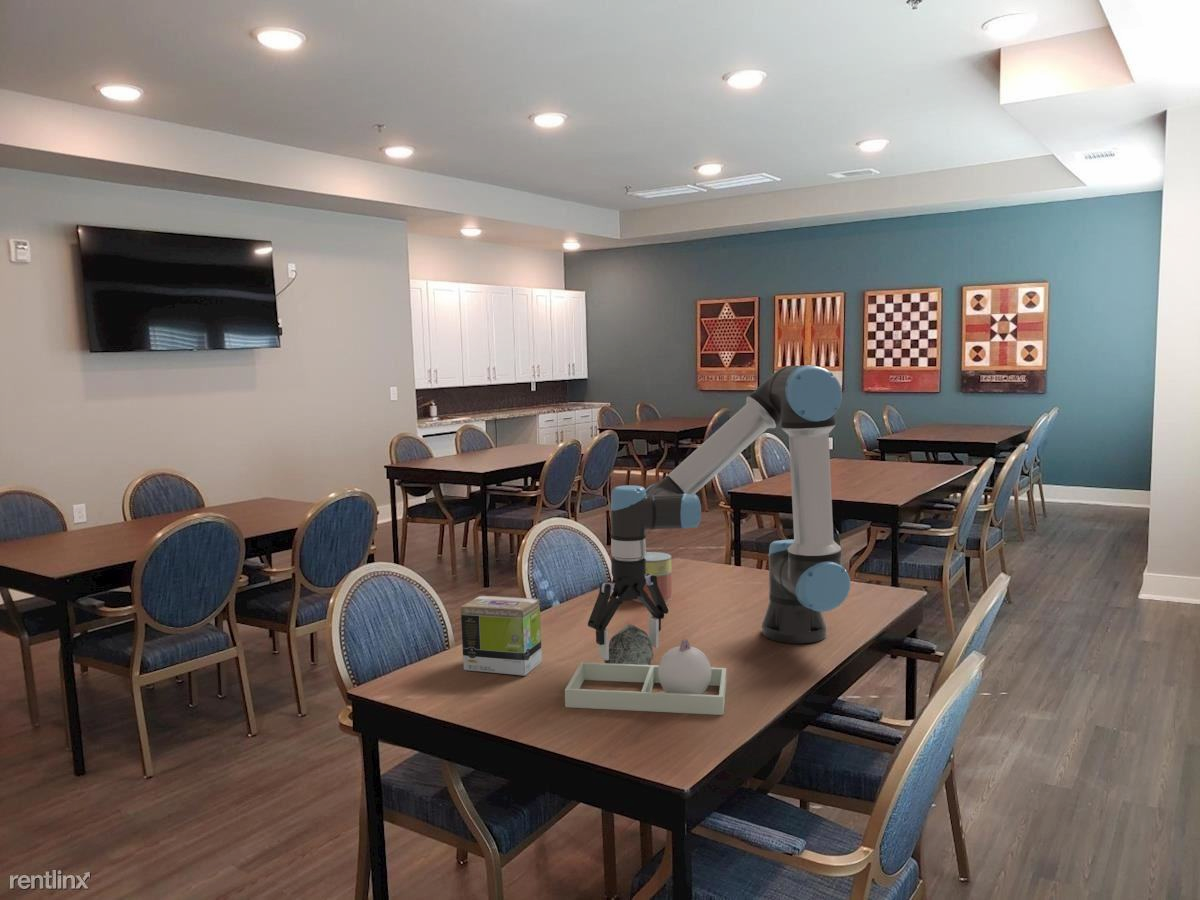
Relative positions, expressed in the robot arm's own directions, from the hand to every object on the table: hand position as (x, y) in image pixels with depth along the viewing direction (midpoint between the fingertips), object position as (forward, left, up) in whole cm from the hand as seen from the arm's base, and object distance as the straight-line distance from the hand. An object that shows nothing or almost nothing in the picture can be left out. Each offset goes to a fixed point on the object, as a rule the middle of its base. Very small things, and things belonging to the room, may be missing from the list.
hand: (629, 652), depth 193 cm
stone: (0, 0, -3) cm, 3 cm away
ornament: (-14, +17, -3) cm, 22 cm away
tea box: (+28, +4, -3) cm, 28 cm away
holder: (-6, +17, -3) cm, 18 cm away
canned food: (+2, -55, -3) cm, 55 cm away
